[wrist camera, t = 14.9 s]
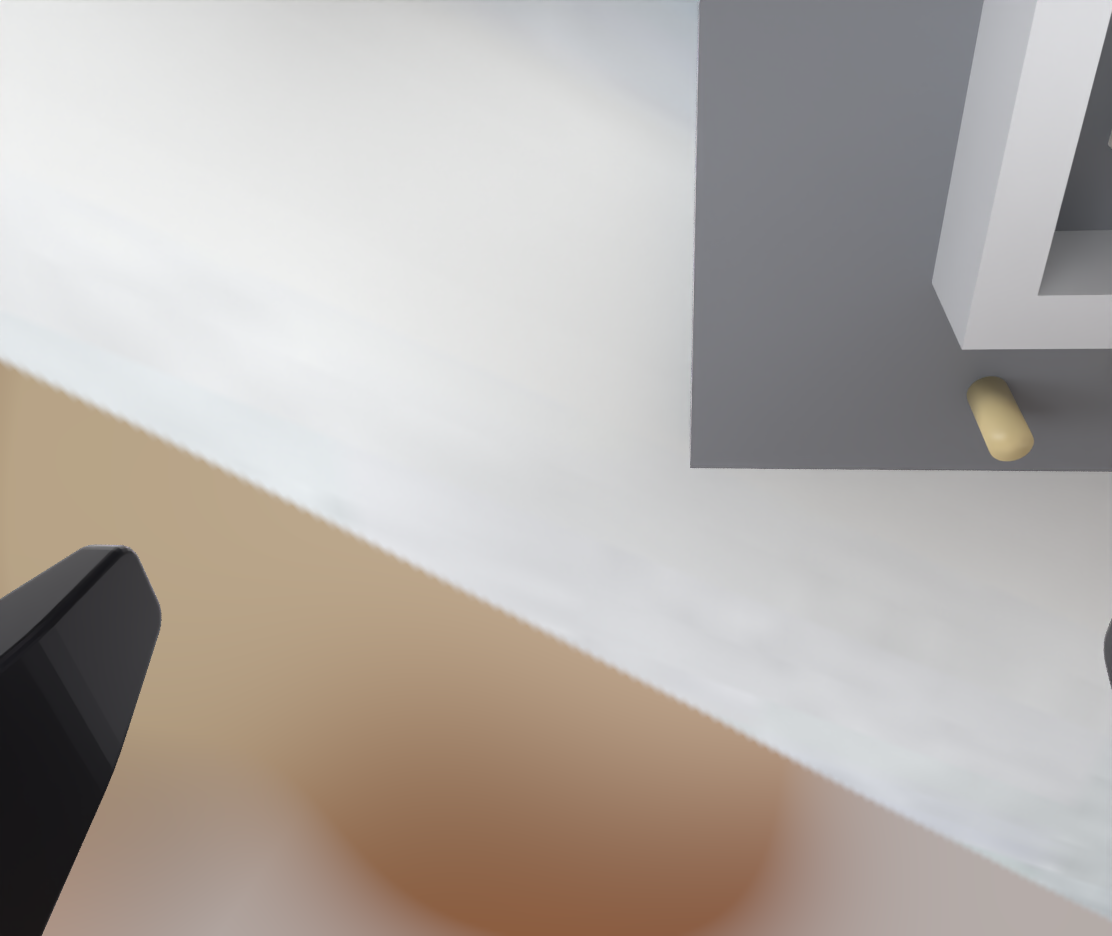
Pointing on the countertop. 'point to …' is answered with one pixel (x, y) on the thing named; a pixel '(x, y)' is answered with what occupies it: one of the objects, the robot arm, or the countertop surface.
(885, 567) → the countertop surface
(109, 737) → the robot arm
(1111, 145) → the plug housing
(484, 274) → the countertop surface
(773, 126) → the header dock
